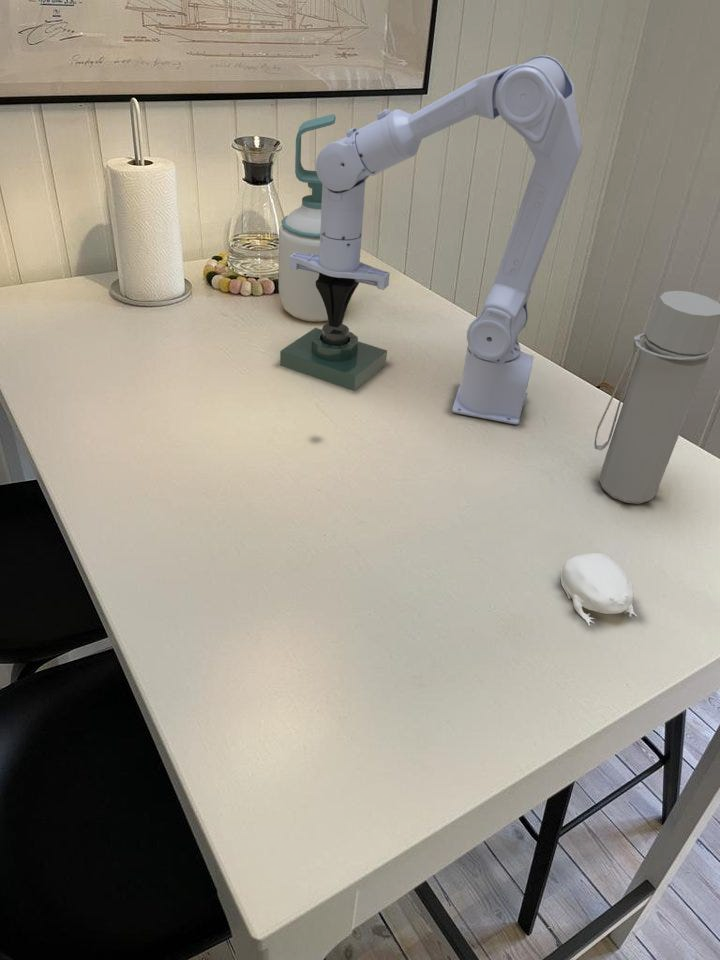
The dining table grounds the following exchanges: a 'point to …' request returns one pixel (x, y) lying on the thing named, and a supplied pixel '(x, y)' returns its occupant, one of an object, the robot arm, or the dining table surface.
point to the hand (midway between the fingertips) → (335, 324)
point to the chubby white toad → (597, 585)
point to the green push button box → (334, 359)
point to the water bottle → (658, 394)
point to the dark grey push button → (335, 335)
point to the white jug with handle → (303, 240)
